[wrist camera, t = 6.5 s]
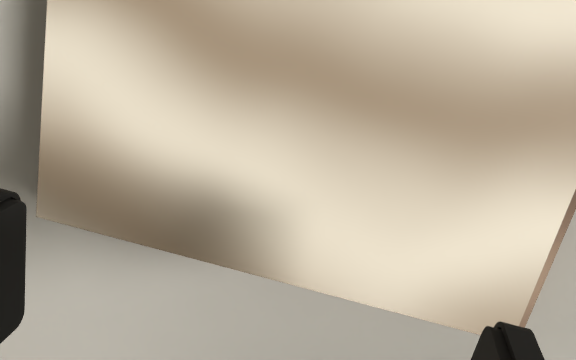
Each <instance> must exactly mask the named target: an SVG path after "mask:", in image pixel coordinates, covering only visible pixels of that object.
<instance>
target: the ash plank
mask: <svg viewBox="0 0 576 360" xmlns="http://www.w3.org/2000/svg"><path fill="white" fill-rule="evenodd" d="M575 189H576V0H47V14H46V34H45V53H44V72H43V92H42V111H41V130H40V149H39V169H38V188H37V207H36V217H39V218H43V219H46V220H50V221H54V222H58V223H61V224H65V225H69V226H73V227H76V228H80V229H84V230H88V231H91V232H95V233H99V234H103V235H106V236H110V237H114V238H118V239H122V240H125V241H129V242H133V243H137V244H140V245H144V246H148V247H152V248H155V249H159V250H163V251H167V252H170V253H174V254H178V255H182V256H185V257H189V258H193V259H197V260H200V261H204V262H208V263H212V264H215V265H219V266H223V267H227V268H231V269H234V270H238V271H242V272H246V273H249V274H253V275H257V276H261V277H264V278H268V279H272V280H276V281H279V282H283V283H287V284H291V285H294V286H298V287H302V288H306V289H309V290H313V291H317V292H321V293H325V294H328V295H332V296H336V297H340V298H343V299H347V300H351V301H355V302H358V303H362V304H366V305H370V306H373V307H377V308H381V309H385V310H388V311H392V312H396V313H400V314H403V315H407V316H411V317H415V318H418V319H422V320H426V321H430V322H434V323H437V324H441V325H445V326H449V327H452V328H456V329H460V330H464V331H467V332H471V333H475V334H479V335H481V334H482V331H483V329H484V328H485V327H486V326H490V327H494V326H495V325H496V323H497V322H499V321H501V322H505V323H509V324H512V325H516V326H519V324H520V322H521V319H522V317H523V315H524V312H525V310H526V307H527V305H528V303H529V300H530V298H531V295H532V293H533V291H534V288H535V286H536V283H537V281H538V279H539V276H540V274H541V271H542V269H543V266H544V264H545V262H546V259H547V257H548V254H549V252H550V250H551V247H552V245H553V242H554V240H555V238H556V235H557V233H558V230H559V228H560V226H561V223H562V221H563V218H564V216H565V213H566V211H567V209H568V206H569V204H570V201H571V199H572V197H573V194H574V192H575Z"/></svg>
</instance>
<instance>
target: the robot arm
mask: <svg viewBox="0 0 576 360" xmlns="http://www.w3.org/2000/svg"><path fill="white" fill-rule="evenodd" d="M25 256H26V205H25V203H23V202H21V200H20V197H19V195H18V194H17V193H15V192H11V191H8V190H4V189H0V343H1V342H3V341H4V340H5V339H6V338H7V337H8V336H9V335H10V334H11V333H12V332H13V331H14V330H15V329H16V328H17V327H18V326H19V324H20V323H21V320H22V318H23V315H24V306H25ZM471 360H544V357H543V355H542V353H541V350H540V348H539V346H538V343H537V341H536V338H535V336H534V334H533V332H532V331H531V330H530V329H527V328H524V327H520V326H516V325H512V324H509V323H505V322H501V321H499V322H497V323H496V325H495V326H494V327H490V326H486V327H485V328H484V329H483V331H482V334H481V336H480V339H479V341H478V343H477V346H476V348H475V351H474V353H473V356H472V358H471Z"/></svg>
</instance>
